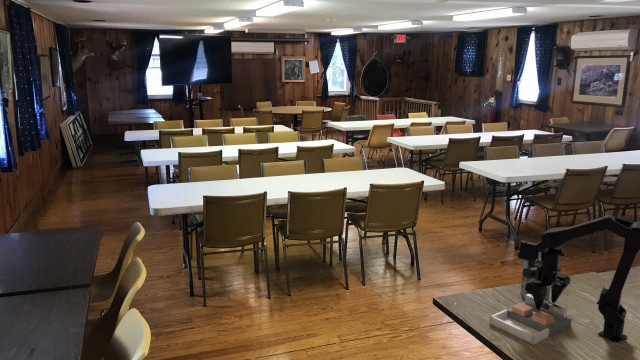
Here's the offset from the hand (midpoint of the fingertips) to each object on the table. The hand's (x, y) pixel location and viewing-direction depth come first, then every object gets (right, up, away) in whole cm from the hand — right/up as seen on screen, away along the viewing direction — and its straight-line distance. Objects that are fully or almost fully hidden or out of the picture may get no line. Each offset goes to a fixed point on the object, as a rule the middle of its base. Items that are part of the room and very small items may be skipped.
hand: (545, 305), depth 178 cm
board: (-3, -5, -1) cm, 6 cm away
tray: (-13, -7, -7) cm, 16 cm away
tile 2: (-4, -3, -7) cm, 9 cm away
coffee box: (+4, -1, +19) cm, 20 cm away
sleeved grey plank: (0, -2, 0) cm, 2 cm away
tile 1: (-9, -2, 0) cm, 9 cm away
